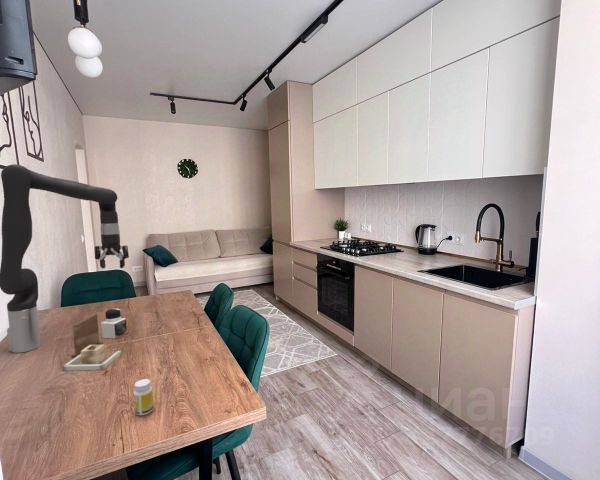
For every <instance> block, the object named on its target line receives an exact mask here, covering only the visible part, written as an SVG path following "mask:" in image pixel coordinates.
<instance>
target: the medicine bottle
mask: <svg viewBox="0 0 600 480" xmlns="http://www.w3.org/2000/svg"><path fill="white" fill-rule="evenodd" d="M100 324H101V338H102V339H112V340H113V339H115V340H116V339H118V338H120V337H121V336H123V335H125V334H127V333H128V329H127V328H128V327H127V319H126V318H125V317H122V311H121V309H120V308H110V309H108V310H106V311H105V320H104V321H101V323H100Z"/></svg>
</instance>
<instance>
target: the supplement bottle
mask: <svg viewBox="0 0 600 480" xmlns="http://www.w3.org/2000/svg"><path fill="white" fill-rule="evenodd" d="M153 394H154V393H153V387H152V386H151V380H150V379H147V378H145V379H143V378H142V379H139V380H137V381H136V382H135V383H134V391H133V401H134V404H133V405H134V414H135V415H137V416H145V415H148V414H150V413H151V412H152V411H153V410H154V395H153Z"/></svg>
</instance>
